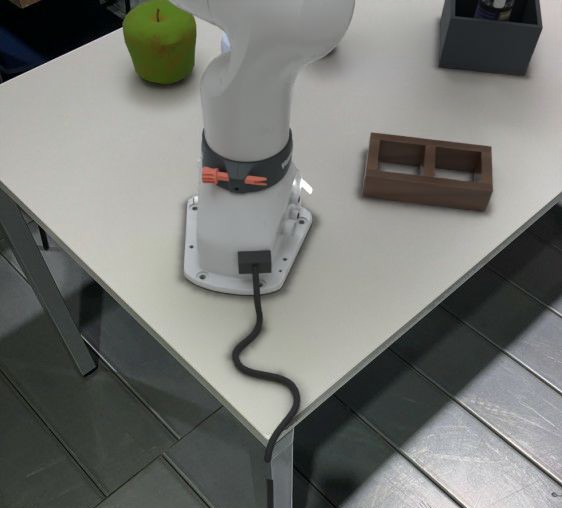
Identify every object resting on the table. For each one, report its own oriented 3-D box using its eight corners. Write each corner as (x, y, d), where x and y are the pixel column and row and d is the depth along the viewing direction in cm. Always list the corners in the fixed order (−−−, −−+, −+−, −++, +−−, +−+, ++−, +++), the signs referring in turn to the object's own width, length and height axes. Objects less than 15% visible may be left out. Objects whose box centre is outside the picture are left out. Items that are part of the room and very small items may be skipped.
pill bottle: (492, 56, 114) (512, -6, 105) (461, 46, 116) (479, -17, 106) (504, 41, 117) (525, -22, 107) (474, 30, 118) (492, -32, 109)
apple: (143, 49, 114) (132, -16, 105) (208, 57, 113) (202, -7, 104) (122, 89, 108) (108, 24, 98) (190, 99, 107) (182, 34, 97)
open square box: (524, 76, 112) (542, 27, 105) (438, 66, 113) (450, 18, 106) (520, 28, 121) (537, -20, 113) (440, 20, 122) (451, -28, 114)
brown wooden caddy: (484, 211, 94) (493, 191, 91) (361, 196, 95) (365, 175, 92) (483, 167, 99) (491, 146, 96) (367, 153, 101) (370, 131, 97)
